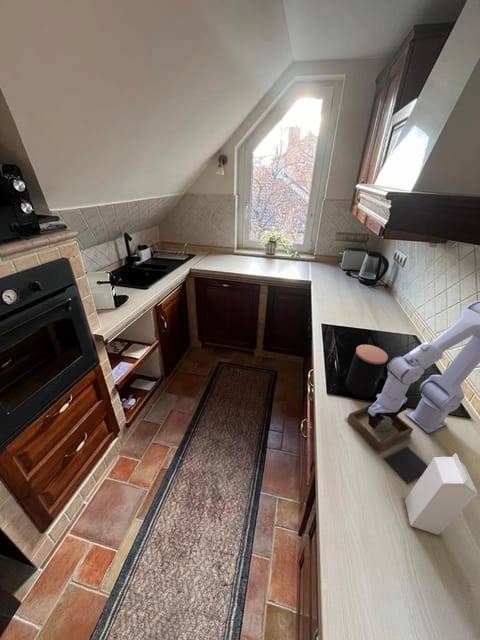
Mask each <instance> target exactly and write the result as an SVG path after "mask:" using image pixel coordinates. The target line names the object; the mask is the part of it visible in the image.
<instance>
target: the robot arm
mask: <svg viewBox="0 0 480 640" xmlns="http://www.w3.org/2000/svg"><path fill="white" fill-rule="evenodd" d="M469 338H470V339H469ZM467 339H469V340H468V342H466V344H465V345H464V346H463V348H462V349H461V350H460V351H459V353H458V354H457V355H456V357H454V359H453V360H452V361H451V363H450V364H448V366H447V367H446V369H445V370H444V371H443V373H442V374H431V375H430V376H429V377H428V378H427V379H425V380H424V381H423V382H422V383H421V384H420V386H419V391H420V396H421V398H420V400H419V402H418V404H417V406H416V408H415V409H414V411H411V412H409V413H407V414H406V416H407V417H408V418H409V419H410V420H411V421H413V422H414V423H415V424H416V425H417V426H418V427H420V428H421V429H422V430H423V431H425V432H426V433H427V434H430V433H432V432H435V431H436V430H438V429H441V428H442V427H445V426H446V425H447V422H445V420H446V418H447V417H448V415H449V414H450V413H452V412H454V411H456V410H457V409H459V408H460V406H461V404H462V401H463V400H464V398H465V397H466V395H465V393H464V390H463V388H462V384H463V382H464V381H465V380H466V379H467V377H469V375H470V374H471V373H472V372H473V371H474V370H475V368H476V367H477V366H478V365H479V364H480V300H476V301H473V302H471V303H469V304H468V305H467V306H465V308H464V309H462V310H461V312H460V314H459V318H458V320H457V321H456V322H455V323H454V324H452V325H451V326H450V327H449V328H447V329H446V330H445V331H444V332H443V333H441V334H440V335H439V336H438V337H436V338H435V339H434V340H433V341H424V342H422V343H421V344H419V345H418V346H416V347H415V348H414V349H412V350H410V351H409V352H408V353H406V354H405V355H404V356H396V357H394V358H392V359H391V360H390V361H389V363H387V365H386V368H387V370H388V371H387V378H386V380H385V383H384V385H383V387H382V390H381V393H378V394H376V395H375V398H377V399H376V400H375V401H374V403H373V405H372V404H369V405H367V406H365V407H366V410H367V413H368V414H367V417H368V426H370V428H371V429H373V430H375V429H376V427H377V425H378V424H379V423H380V422H381V421H382V420H384V419H385V418H384V417H383V416H384V415H383V414H382V413H385V416H388V417H390V418H391V419H392V420H393V419H394V418H395V417H396V416H398V415H400V414H401V413H403V412H405V411H406V410H407V407H406V405H405V404H406V403H407V401H408V398H407V397H406V394H407V392H408V390H409V389H410V386H411V385H412V384H414V383H415V382H417V381H418V380H420V378H421V377H422V375H423V374H425V372H426V371H425V370H426V369H428V368H430V367H431V366H433V365H434V364H435V363H437V362H439V361H441V359H443V357H444V352H445V351H448V350H449V349H451V348H452V347H454V346H456V345H458V344H460V343H461V342H463V341H465V340H467Z"/></svg>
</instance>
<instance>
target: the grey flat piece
mask: <svg viewBox="0 0 480 640" xmlns="http://www.w3.org/2000/svg"><path fill="white" fill-rule="evenodd" d="M382 416H383V417H384V418H385V419H384V420H382V421H381V422H380V423H379V424H378V425H377V427H376V428H375V430H376V431H389V430H390V428H391V426H392V424H393V423H392V422H393V421H392V419H391V418H390V417H388V416H384V415H382Z"/></svg>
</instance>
